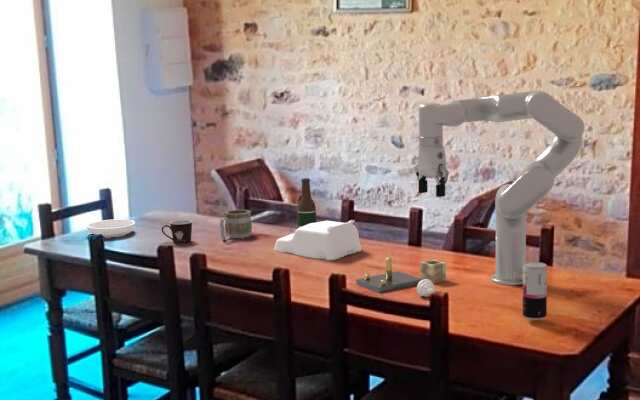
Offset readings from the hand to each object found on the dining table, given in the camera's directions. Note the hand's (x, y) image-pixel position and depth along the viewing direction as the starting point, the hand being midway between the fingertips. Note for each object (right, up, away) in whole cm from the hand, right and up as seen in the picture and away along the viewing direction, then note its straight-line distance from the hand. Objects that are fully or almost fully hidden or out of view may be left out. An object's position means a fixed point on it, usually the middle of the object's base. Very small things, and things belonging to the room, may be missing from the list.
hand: (431, 194), depth 294 cm
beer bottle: (-41, -17, +77) cm, 89 cm away
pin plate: (-14, -29, +1) cm, 32 cm away
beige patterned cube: (+1, -28, +4) cm, 28 cm away
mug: (-70, -19, +71) cm, 102 cm away
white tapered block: (-37, -22, +47) cm, 63 cm away
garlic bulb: (-3, -32, -16) cm, 36 cm away
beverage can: (+24, -35, -38) cm, 57 cm away
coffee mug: (-92, -20, +66) cm, 115 cm away
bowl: (-122, -19, +82) cm, 148 cm away
